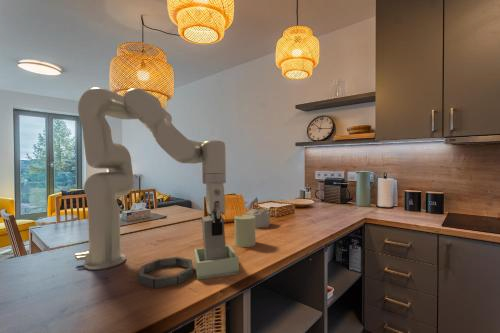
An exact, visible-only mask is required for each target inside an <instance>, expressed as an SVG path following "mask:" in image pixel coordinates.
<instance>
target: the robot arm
mask: <svg viewBox="0 0 500 333" xmlns="http://www.w3.org/2000/svg"><path fill="white" fill-rule="evenodd" d="M77 108H78V109H77V111H78V118H79V120H80V121H79V122H80V124H81V129H82V138H83V145H84V153H85V160H86V162H87V165H88V166H90V167H91V168H93V169H97V170H98V169H100V170H101V169H103V170H104V169H105V170H107V169H108V171H103V172H96V173H94V174H92V175H90V176H89V177H88V178H87V179H85V182H84V186H83V191H84V195H85V199H86V204H87V214H88V215H87V218H88V219H87V220H88V251H86V252H76V253H75V256H74V259H75V260H76V261H78V262H79V261H84V262H83V268H85V269H87V270H91V271H92V270H93V271H95V270H97V271H98V270H104V269H110V268H112V267H116V266H119V265H120V264H122V263H124V262H125V261H126V254H124V253H121V252H122V251H121V250H122V249H121V248H122V247H121V210H120V205H119V204H118V202H117V199H116V198H119V197H124V196H127V195H129V194H130V193H131V192H132V190H133V189H134V174H133V164H132V157H131V153H130V152H129V149H127V147H126V146H125V145H123V144H122V143H121V144H120V143H116V142H114V141H113V137H112V129H111V127H110V124H109V122H108V120H107V119H106V116H108V117H111V118H115V119H120V120H139V122H141V123H142V124H143V126H145V127H146V128H147V129H148V130H149V131H150V132H151V133H152V137H153V138H154V140H155V141H156V143H157V144H158V145H159V147H160V148H162V150H163V151H164V152H165V153H166V154H168V156H170V157H171V158H172V159H173V160H175V161H176V162H178V163H180V164H202V165H201V166H202V171H201V172H202V175H201V176H202V180H201V181H202V184H204V185H206V186H205V203H206V212H207V216H212V220H213V222H212V236H217V235H222V218H223V216H222V215H225V214H226V200H225V198H226V195H225V184H226V182H227V181H226V177H227V176H226V175H227V173H226V172H227V171H226V170H227V168H226V167H227V166H226V144H225V142H224V141H222V140H215V139H214V140H205V141H203V142H201V141H200V142H199V141H195V140H193V139H188V138H187V137H186V136H185V135H184V134H182V133H181V132H180V130H178V129H177V127H175V125H174V124H173V122H172V121H173V118H172V115H171V114H170V113H169V112H168V111H167V110H166V109H165V108H164V107H163V106H162V103H161V101H160V100H159V98H158V97H157V96H155V94H154V95H153V94H151V93H149V92H148V91H146V90H144V89H141V88H136V87H134V88H130V89H128V90H126V92H125V93H124V95H122V94H118V93H116V92H114V91H111V90H109V89H106V88H102V87H91V88H89V89H87V90H86V91H85V92H84V93H83V94H82V95H81V96H80V98H79V101H78V107H77ZM214 216H215V217H214Z"/></svg>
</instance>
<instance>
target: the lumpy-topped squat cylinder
mask: <svg viewBox="0 0 500 333" xmlns="http://www.w3.org/2000/svg"><path fill="white" fill-rule="evenodd" d="M270 212H271V211H269V210H267V209H263V208H260V209H257V208H253V209H251V210H248V211H247V212H246V213H245V215H253V216H255V229H261V228H260V227H263V228H267V227H270V225H271V223H270V222H271V221H270V220H271V218H270V217H271V216H270V215H271V213H270Z"/></svg>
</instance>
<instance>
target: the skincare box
mask: <svg viewBox="0 0 500 333" xmlns="http://www.w3.org/2000/svg"><path fill="white" fill-rule="evenodd" d="M214 217H215V216H214ZM212 222H213V220H212V216H208V215H207V216H206V215H205V216H202V217H201V224H202V225H201V226H202V240H203V242H202V243H203V248H204V258H205V261H209V260H217V259H225V258H226V233H225V219H224V218H223V217H222V235H217V236H212Z"/></svg>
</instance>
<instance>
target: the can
mask: <svg viewBox="0 0 500 333" xmlns="http://www.w3.org/2000/svg"><path fill="white" fill-rule="evenodd" d="M233 218H234V220H233V222H234V227H233V228H234V243H233V244H234V246H236V247H240V248H250V247H254V246H256V244H257V242H256V228H255V216H253V215H246V214H238V215H235V216H234V217H233Z"/></svg>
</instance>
